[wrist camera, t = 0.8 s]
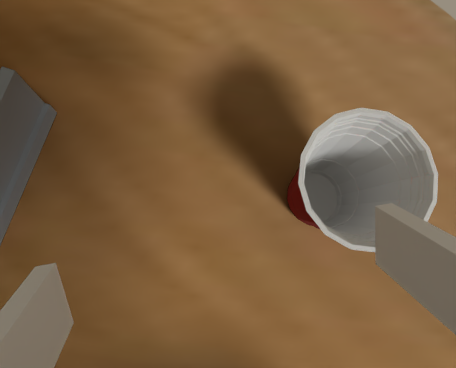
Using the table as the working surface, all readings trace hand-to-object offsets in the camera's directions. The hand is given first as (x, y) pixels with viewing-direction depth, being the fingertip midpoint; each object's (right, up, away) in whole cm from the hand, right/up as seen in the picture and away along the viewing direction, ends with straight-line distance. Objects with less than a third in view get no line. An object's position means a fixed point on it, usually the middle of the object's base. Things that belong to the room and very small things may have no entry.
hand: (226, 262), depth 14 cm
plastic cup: (+9, +2, +23) cm, 25 cm away
